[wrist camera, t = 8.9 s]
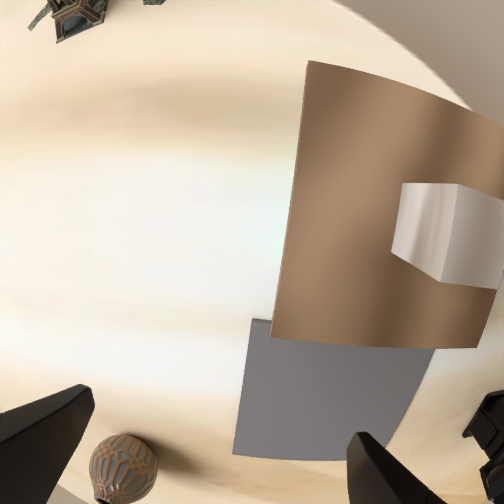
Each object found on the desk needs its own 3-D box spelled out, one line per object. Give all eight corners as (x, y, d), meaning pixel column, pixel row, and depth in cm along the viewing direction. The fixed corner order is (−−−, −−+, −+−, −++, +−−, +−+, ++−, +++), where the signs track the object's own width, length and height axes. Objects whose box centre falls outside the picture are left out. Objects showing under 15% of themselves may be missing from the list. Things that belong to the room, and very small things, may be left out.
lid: (507, 137, 11) (569, 130, 6) (468, 340, 14) (515, 385, 9) (306, 68, 12) (323, 7, 6) (270, 328, 15) (268, 397, 9)
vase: (167, 441, 24) (141, 507, 15) (161, 471, 25) (140, 527, 17) (105, 415, 24) (68, 472, 15) (107, 449, 25) (78, 499, 17)
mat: (437, 334, 19) (439, 336, 19) (377, 455, 23) (377, 458, 22) (252, 318, 20) (251, 320, 20) (232, 451, 23) (232, 454, 23)
